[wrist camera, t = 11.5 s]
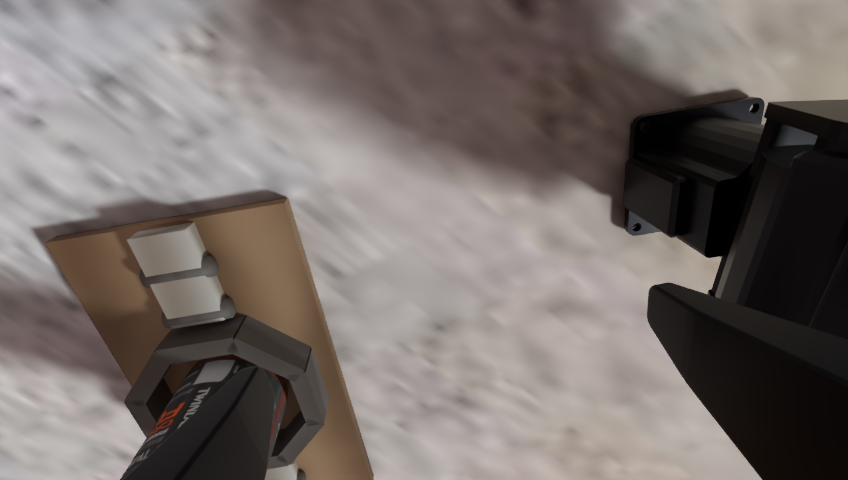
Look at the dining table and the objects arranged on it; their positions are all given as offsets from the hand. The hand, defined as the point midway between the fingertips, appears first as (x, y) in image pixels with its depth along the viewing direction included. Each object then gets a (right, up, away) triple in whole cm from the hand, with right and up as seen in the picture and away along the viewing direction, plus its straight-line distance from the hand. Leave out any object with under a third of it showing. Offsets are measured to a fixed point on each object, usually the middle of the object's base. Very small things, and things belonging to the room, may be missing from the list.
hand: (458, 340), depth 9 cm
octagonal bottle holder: (-12, -6, +16) cm, 21 cm away
